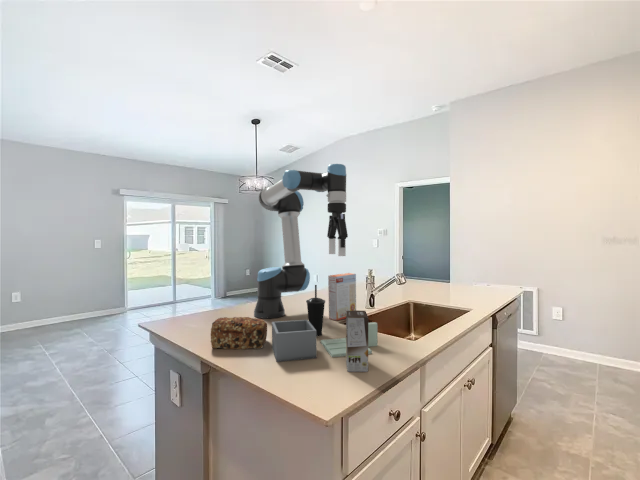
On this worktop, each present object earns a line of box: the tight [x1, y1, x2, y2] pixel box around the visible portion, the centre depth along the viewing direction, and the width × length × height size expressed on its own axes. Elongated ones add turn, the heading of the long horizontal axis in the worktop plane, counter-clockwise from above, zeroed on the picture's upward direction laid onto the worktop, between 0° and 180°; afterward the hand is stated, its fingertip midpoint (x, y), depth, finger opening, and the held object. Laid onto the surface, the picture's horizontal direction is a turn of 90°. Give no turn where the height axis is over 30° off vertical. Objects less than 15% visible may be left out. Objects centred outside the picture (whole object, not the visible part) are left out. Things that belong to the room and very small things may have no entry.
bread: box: [210, 316, 268, 350], centre depth 119 cm, size 19×11×10 cm, turn 89°
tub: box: [271, 319, 317, 363], centre depth 111 cm, size 14×13×9 cm
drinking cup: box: [306, 284, 326, 338], centre depth 131 cm, size 8×8×20 cm
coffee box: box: [345, 309, 369, 373], centre depth 100 cm, size 9×6×16 cm
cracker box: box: [327, 272, 357, 321], centre depth 158 cm, size 14×6×21 cm, turn 133°
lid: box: [320, 321, 379, 358], centre depth 116 cm, size 15×19×8 cm
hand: (336, 255), depth 133 cm, fingers open, 13 cm apart
